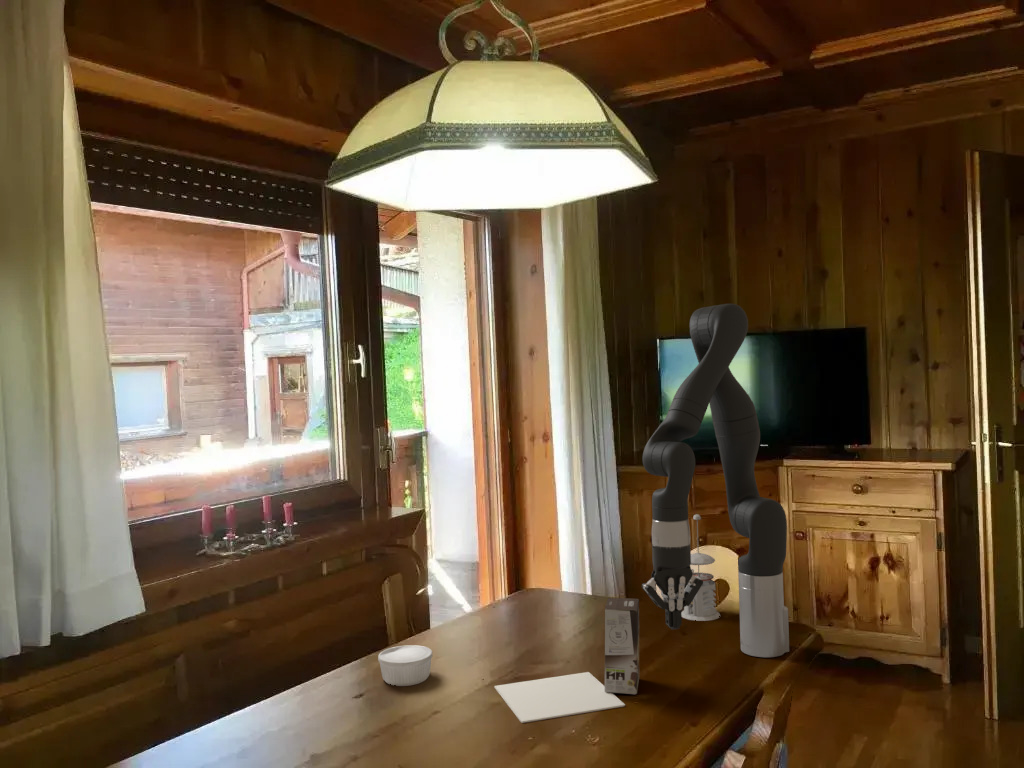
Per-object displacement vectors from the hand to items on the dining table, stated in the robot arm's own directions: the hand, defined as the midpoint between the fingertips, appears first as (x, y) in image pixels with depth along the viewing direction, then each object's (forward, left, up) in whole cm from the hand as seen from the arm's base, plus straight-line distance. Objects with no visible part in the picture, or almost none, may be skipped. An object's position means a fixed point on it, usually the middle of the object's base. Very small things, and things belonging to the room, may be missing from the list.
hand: (673, 628), depth 170 cm
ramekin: (+50, -21, -10) cm, 56 cm away
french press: (-25, -35, -10) cm, 44 cm away
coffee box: (+11, 0, -10) cm, 15 cm away
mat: (+25, 0, -10) cm, 27 cm away
